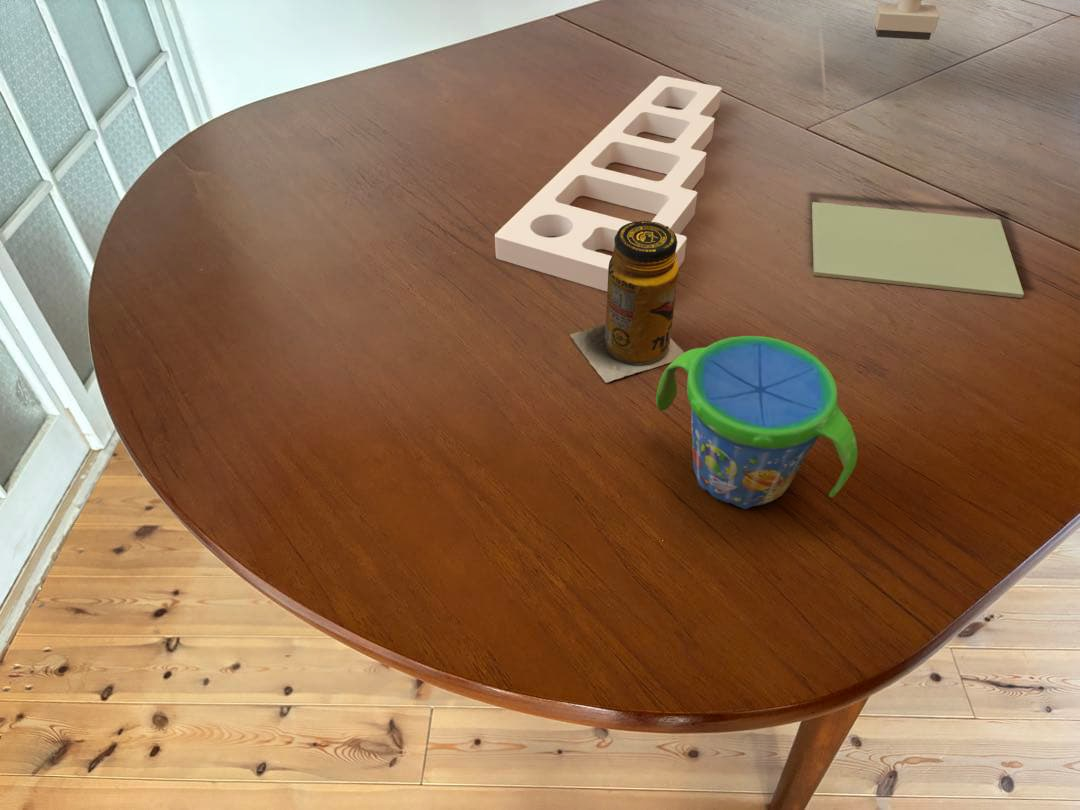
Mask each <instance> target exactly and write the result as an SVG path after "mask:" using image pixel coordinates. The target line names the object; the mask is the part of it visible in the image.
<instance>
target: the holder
mask: <svg viewBox="0 0 1080 810" xmlns="http://www.w3.org/2000/svg"><path fill="white" fill-rule="evenodd" d="M722 89H723V88H722V87H721V86H718V85H712V84H706V83H702V82H697V81H692V80H687V79H683V78H676V77H673V76H672V77H671V76H665V75H658V76H657V77H656V78H655V79H654V80H653V81H652V82H651V83H650V84H649V85H648V86H647V87H646V88H645V89H644V90H643V91H641V93H639V94H638V96H636V97H635V99H633V101H631V102H630V103H629V104H628V105H627V106H626V107H625V108H624V109H623V110H622V111H621V112H620V113H618V115H617V116H616V117H615V118H614V119H613V120H612V121H611V122H610V123H609V124H607V125H606V126H605V127H604V128H603V129H602V130H601V131H600V132H599V133H598V134H597V135H596V136H595V137H594V138H593V139H592V140H591V141H590V142H589V143H588V144H587V145H585V147H584V148H583V149H582V150H580V152H578V153H577V154H576V156H574V157H573V158H572V159H571V160H570V161H569V162H568V163H567V164H566V165H565V166H564V167H563V168H561V170H560V171H559V172H558V173H557V174H555V176H554V177H553V178H551V180H550V181H548V182H547V183H546V184H545V185H544V186H543V187H542V188H541V189H540V190H538V192H537V193H536V194H535V195H534V196H533V197H532V198H531V199H530V200H529V201H528V202H526V203H525V205H524V206H523V207H522V208H521V209H519V210H518V211H517V212H516V213H515V214H514V215H513V216H512V217H511V218H510V219H509V220H508V221H507V222H506V223H505V224H504V225H502V226H501V228H500V229H499V230H498V231H496V232H495V233H494V248H495V249H494V250H495V259H497V260H500V261H503V262H507V263H510V264H513V265H516V266H520V267H523V268H526V269H529V270H533V271H536V272H540V273H543V274H547V275H550V276H553V277H556V278H560V279H563V280H565V281H566V280H567V281H570V282H573V283H576V284H580V285H583V286H586V287H589V288H593V289H596V290H600V291H603V292H606V293H607V288H608V267H609V262H610V259H611V257H612V256H613V255H609V254H606V253H603V252H599V251H597V250H604V251H607V252H612V253H613V250H614V246H615V243H614V242H615V241H614V238H615V236H616V235H617V232H618V230H619V229H620V228H621V227H622V226H624V225H626V224H628V223H631V222H632V221H630V220H626V219H623V218H618V217H615V216H611V215H607V214H604V213H599V212H596V211H592V210H589V209H584V208H581V207H578V206H573V205H571V204H572V203H573V202H575V200H576V199H577V198H579V197H587V198H591V199H595V200H598V201H603V202H607V203H610V204H614V205H618V206H622V207H626V208H629V209H633V210H637V211H641V212H644V213H648V214H653V215H655V216H654V217H653V219H652V220H650V221H651V222H657V223H661V224H663V225H665V226H668V227H669V228H670V229H671V230H672V231H673V232H674V233H675V235H676V238H677V247H676V260H677V262H678V267H679V268H680V267H681V266H682V264H683V263H684V261H685V256H686V249H687V248H686V247H687V241H688V240H687V239H688V238H687V236H686V235H683V234H681V233H682V232H683V231H684V230H685V229H686V227H687V226H688V224H689V223H690V222H691V221H692V219H693V218H694V217H695V214H696V206H697V199H698V198H697V197H698V191H696V190H693V189H694V188H695V187H696V185H697V184H698V183H699V182H700V180H702V178H703V177H704V176H705V168H706V161H707V152H706V151H704V150H705V148H707V146H708V145H709V144H710V143H711V141H712V140H713V133H714V127H715V117H713V116H714V115H715V114H716V112H718V110H719V109H720V104H721V97H722ZM670 107H673V108H670ZM674 108H678V109H674ZM641 133H648V134H653V135H656V136H660V137H661V136H662V137H666V138H670V139H675V141H673V142H663V141H659V140H654V139H650V138H645V137H641V136H638V135H640V134H641ZM613 163H616V164H617V163H618V164H622V165H626V166H630V167H634V168H639V169H643V170H648V171H651V172H655V173H659V174H665V176H664V178H663V179H661V180H652V179H647V178H644V177H640V176H635V175H631V174H627V173H623V172H619V171H615V170H612V169H611V170H610V169H607V167H608V166H609V165H610V164H613Z"/></svg>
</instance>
